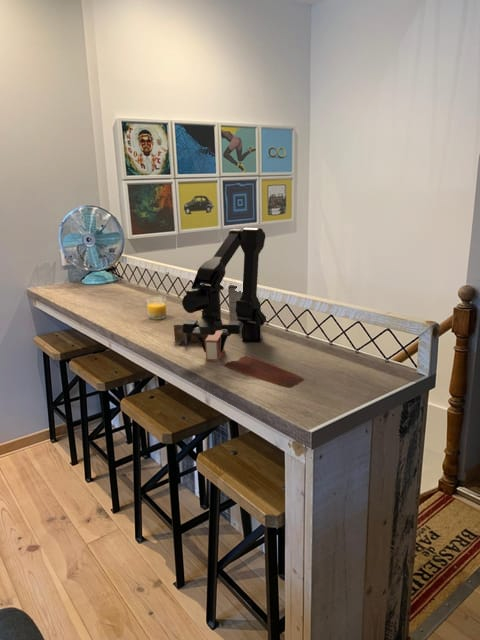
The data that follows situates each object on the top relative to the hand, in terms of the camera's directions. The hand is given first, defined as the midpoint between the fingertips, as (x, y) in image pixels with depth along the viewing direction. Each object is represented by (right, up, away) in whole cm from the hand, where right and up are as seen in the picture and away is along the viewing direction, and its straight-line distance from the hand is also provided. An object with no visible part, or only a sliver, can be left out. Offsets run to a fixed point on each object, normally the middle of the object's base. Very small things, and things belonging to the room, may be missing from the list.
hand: (213, 352), depth 160 cm
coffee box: (+8, +9, +38) cm, 40 cm away
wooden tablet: (+16, -6, -12) cm, 21 cm away
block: (0, -1, +3) cm, 3 cm away
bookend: (-11, +2, +16) cm, 19 cm away
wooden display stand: (-8, +2, +16) cm, 18 cm away
